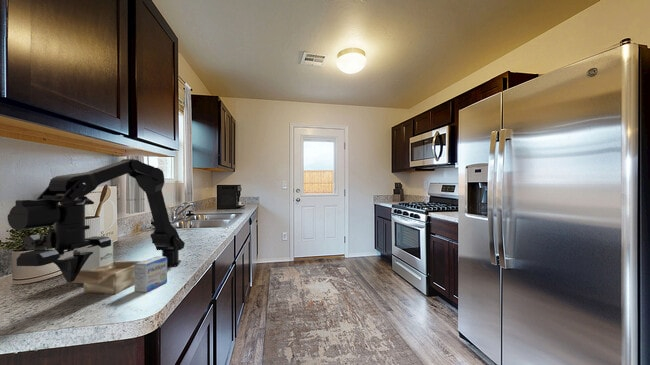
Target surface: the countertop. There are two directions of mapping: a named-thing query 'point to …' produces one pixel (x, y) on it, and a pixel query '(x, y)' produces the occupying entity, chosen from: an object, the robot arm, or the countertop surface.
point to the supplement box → (99, 257)
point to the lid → (95, 275)
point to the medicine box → (150, 273)
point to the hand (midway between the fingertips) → (70, 281)
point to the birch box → (114, 279)
